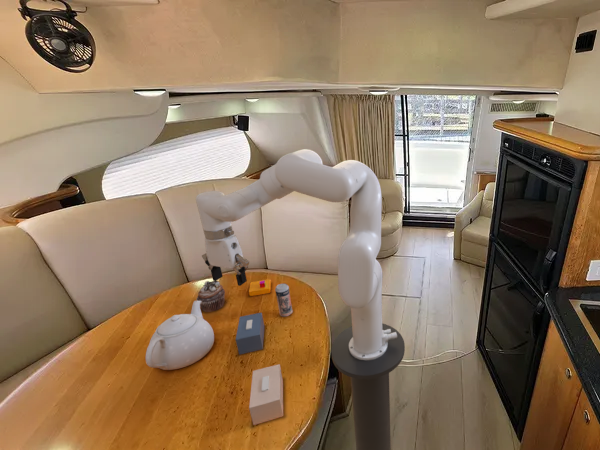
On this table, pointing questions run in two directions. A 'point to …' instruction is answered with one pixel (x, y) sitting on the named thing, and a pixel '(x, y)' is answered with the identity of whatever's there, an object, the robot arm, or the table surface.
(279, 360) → the table surface
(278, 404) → the front tissue box
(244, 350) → the back tissue box
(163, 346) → the teapot
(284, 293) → the beer can
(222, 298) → the cupcake
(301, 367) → the table surface
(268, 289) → the orange square block
